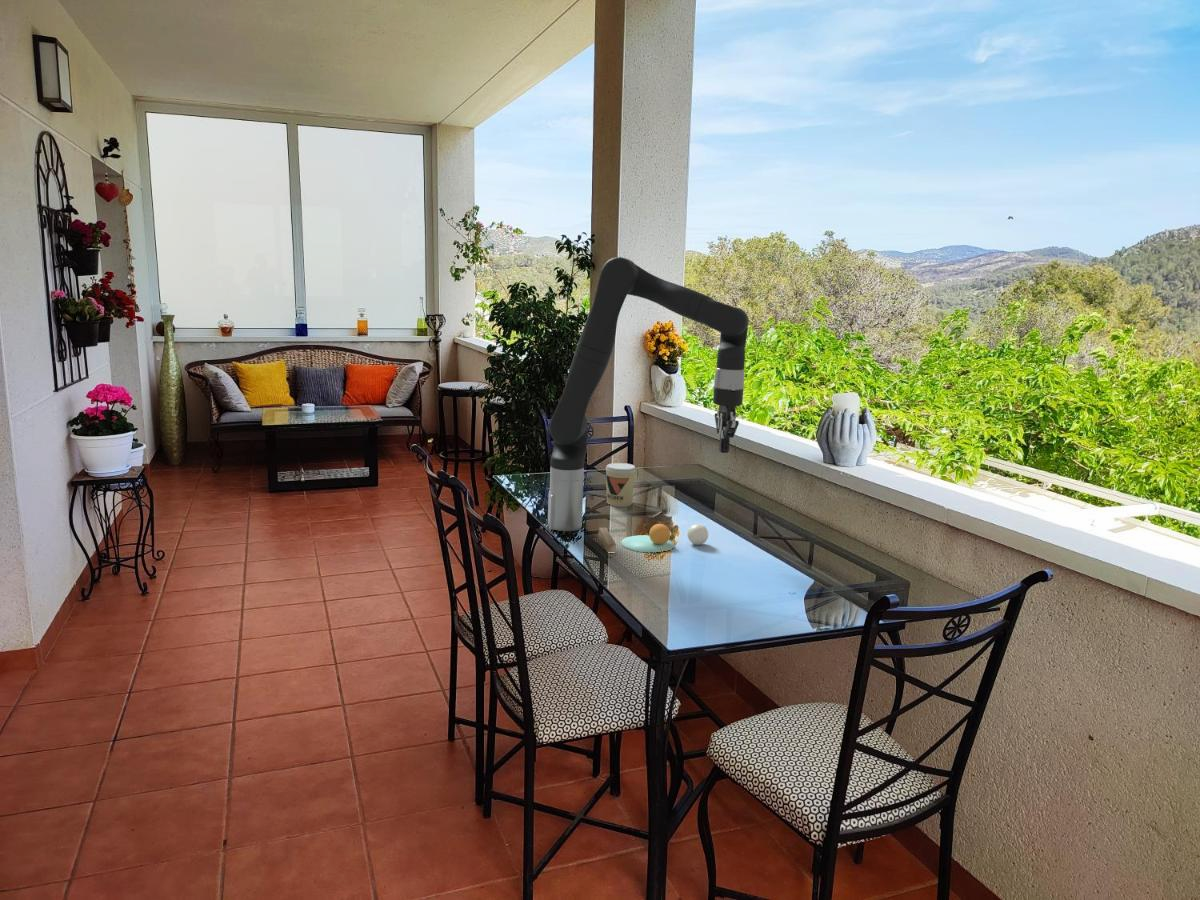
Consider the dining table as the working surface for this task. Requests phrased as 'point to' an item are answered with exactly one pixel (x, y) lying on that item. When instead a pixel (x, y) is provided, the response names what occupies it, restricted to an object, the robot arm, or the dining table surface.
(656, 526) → the object ball
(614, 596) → the dining table surface
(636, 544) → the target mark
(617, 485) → the coffee cup
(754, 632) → the dining table surface
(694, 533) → the cue ball
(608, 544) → the brown wooden bar
